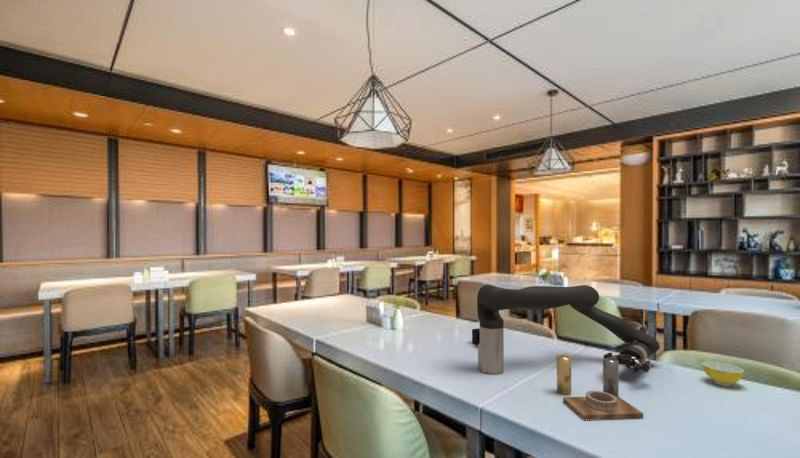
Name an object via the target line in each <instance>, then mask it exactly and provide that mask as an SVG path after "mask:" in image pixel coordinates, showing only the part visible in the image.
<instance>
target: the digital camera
mask: <svg viewBox="0 0 800 458" xmlns="http://www.w3.org/2000/svg"><path fill="white" fill-rule="evenodd" d="M471 332H472V333H471V343H472V344H473V345H475V346H477V347H478V344H480V327H478V328H472V330H471Z"/></svg>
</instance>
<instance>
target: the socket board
mask: <svg viewBox="0 0 800 458" xmlns="http://www.w3.org/2000/svg"><path fill="white" fill-rule="evenodd" d="M562 400H563V401H562V402H563V403H564V404H565V405H566V404H567V405H568V406H569V407H568V406H567V405H566V406H567V407H568V408H569V409H571V410H572V411H573V410H574V411H575V412H576V413H577V414H576V413H575V412H574V411H573V412H574V413H575V414H576V415H577V416H579V415H580V416H581V417H582V418H583V419H584V420H585V421H591V420H590V419H593V420H592V421H595V420H594V419H605V420H606V419H610V420H632V419H638V420H639V419H644V412H642V411H641V410H639V409H638V408H636V407H635V406H633V405H631V404H630V403H629V402H627V401H625V400H624V399H622V398H621V397H620V396H619V397H618V396H614V395H612V394H609V393H606V392H603V391H600V390H589V391H587V392H585V396H566V397H565V396H563V398H562ZM580 416H579V417H580ZM581 417H580V418H581ZM582 418H581V419H582ZM583 419H582V420H583ZM586 419H587V420H586ZM588 419H589V420H588ZM584 420H583V421H584ZM605 420H604V421H605Z"/></svg>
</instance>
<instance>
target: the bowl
mask: <svg viewBox="0 0 800 458" xmlns="http://www.w3.org/2000/svg"><path fill="white" fill-rule="evenodd" d="M701 365H702V369H703V371H704V373H705V374H706V375H707V377H709V378H710V379H711V380H713V381H714V384H716V385H719V386H722V387H723V386H724V387H730V386H732V384H736V383H738V382H739V381H740V380H741V379H742V378H743V376H744V374H745V373H744V369H743V368H741V367H740V366H739V367H738V366H736V365H733V364H728V363H724V362H718V361H703V362H702V364H701Z"/></svg>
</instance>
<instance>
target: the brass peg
mask: <svg viewBox="0 0 800 458" xmlns="http://www.w3.org/2000/svg"><path fill="white" fill-rule="evenodd" d="M556 393H558V394H560V395H562V396H570V395H572V357H571V356H569V355H565V354H557V355H556Z"/></svg>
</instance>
